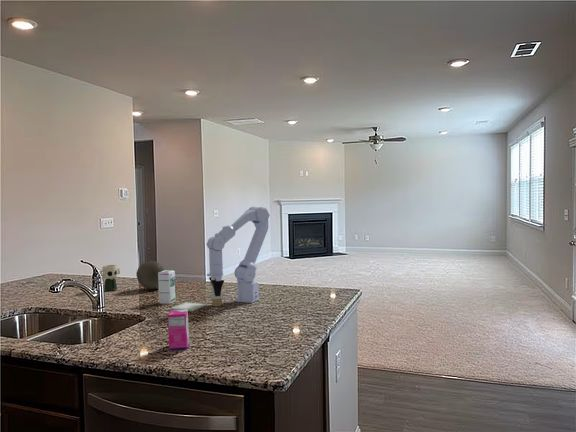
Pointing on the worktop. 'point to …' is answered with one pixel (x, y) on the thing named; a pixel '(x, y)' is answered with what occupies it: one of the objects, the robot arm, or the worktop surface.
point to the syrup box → (167, 287)
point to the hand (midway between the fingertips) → (216, 294)
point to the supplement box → (178, 329)
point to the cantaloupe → (149, 274)
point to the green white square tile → (188, 306)
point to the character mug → (110, 276)
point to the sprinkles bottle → (216, 299)
